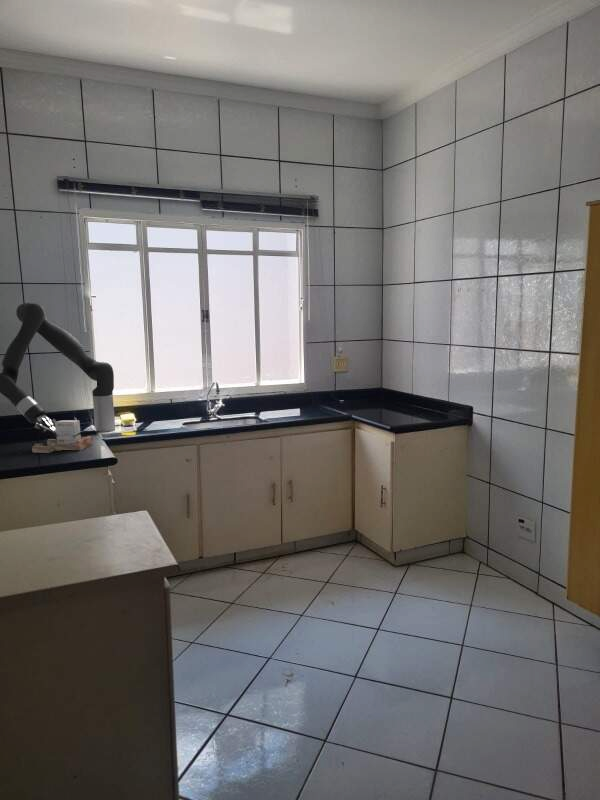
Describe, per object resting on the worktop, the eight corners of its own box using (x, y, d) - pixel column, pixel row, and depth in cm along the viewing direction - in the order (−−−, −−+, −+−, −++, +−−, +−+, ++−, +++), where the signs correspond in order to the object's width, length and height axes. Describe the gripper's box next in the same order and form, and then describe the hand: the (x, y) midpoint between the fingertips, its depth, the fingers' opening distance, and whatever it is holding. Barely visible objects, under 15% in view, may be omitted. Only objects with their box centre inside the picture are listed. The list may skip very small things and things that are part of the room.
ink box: (82, 447, 242) (80, 419, 240) (76, 449, 237) (73, 421, 235) (63, 446, 243) (61, 419, 241) (57, 449, 238) (54, 421, 237)
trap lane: (54, 442, 252) (53, 433, 251) (97, 443, 249) (96, 434, 248) (28, 452, 234) (27, 442, 233) (74, 453, 231) (73, 443, 230)
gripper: (26, 405, 234) (55, 435, 234) (45, 401, 247) (73, 429, 247) (15, 418, 235) (45, 448, 235) (35, 413, 248) (63, 441, 248)
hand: (59, 438), depth 241 cm, fingers closed
